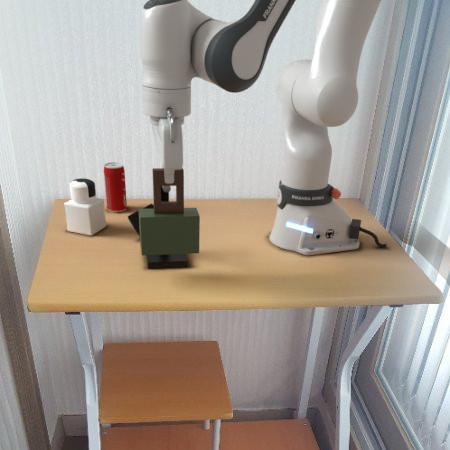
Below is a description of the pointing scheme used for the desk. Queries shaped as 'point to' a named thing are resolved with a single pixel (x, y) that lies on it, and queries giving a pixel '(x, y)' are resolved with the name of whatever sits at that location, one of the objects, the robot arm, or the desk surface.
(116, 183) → the soda can
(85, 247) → the desk surface
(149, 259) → the peg stand
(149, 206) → the handheld gaming console
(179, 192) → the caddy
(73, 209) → the medicine bottle
